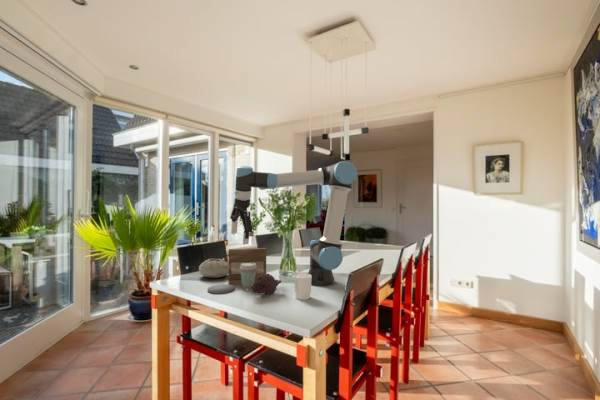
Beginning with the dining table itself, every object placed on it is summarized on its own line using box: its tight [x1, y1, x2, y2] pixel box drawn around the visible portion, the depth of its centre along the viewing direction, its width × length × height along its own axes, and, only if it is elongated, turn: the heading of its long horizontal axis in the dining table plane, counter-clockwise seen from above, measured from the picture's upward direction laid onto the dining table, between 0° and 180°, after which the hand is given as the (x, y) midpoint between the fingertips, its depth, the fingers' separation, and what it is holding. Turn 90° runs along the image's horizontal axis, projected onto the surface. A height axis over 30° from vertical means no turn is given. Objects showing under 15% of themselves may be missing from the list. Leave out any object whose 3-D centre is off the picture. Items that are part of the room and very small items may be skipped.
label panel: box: [227, 247, 267, 285], centre depth 162 cm, size 6×20×18 cm, turn 102°
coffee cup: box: [240, 263, 257, 290], centre depth 151 cm, size 8×9×12 cm
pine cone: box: [250, 273, 282, 296], centre depth 139 cm, size 18×10×10 cm, turn 140°
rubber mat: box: [207, 283, 236, 295], centre depth 147 cm, size 13×13×1 cm
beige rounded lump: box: [198, 258, 229, 279], centre depth 173 cm, size 18×18×10 cm
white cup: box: [294, 273, 312, 301], centre depth 136 cm, size 8×8×10 cm
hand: (239, 238), depth 150 cm, fingers open, 13 cm apart
